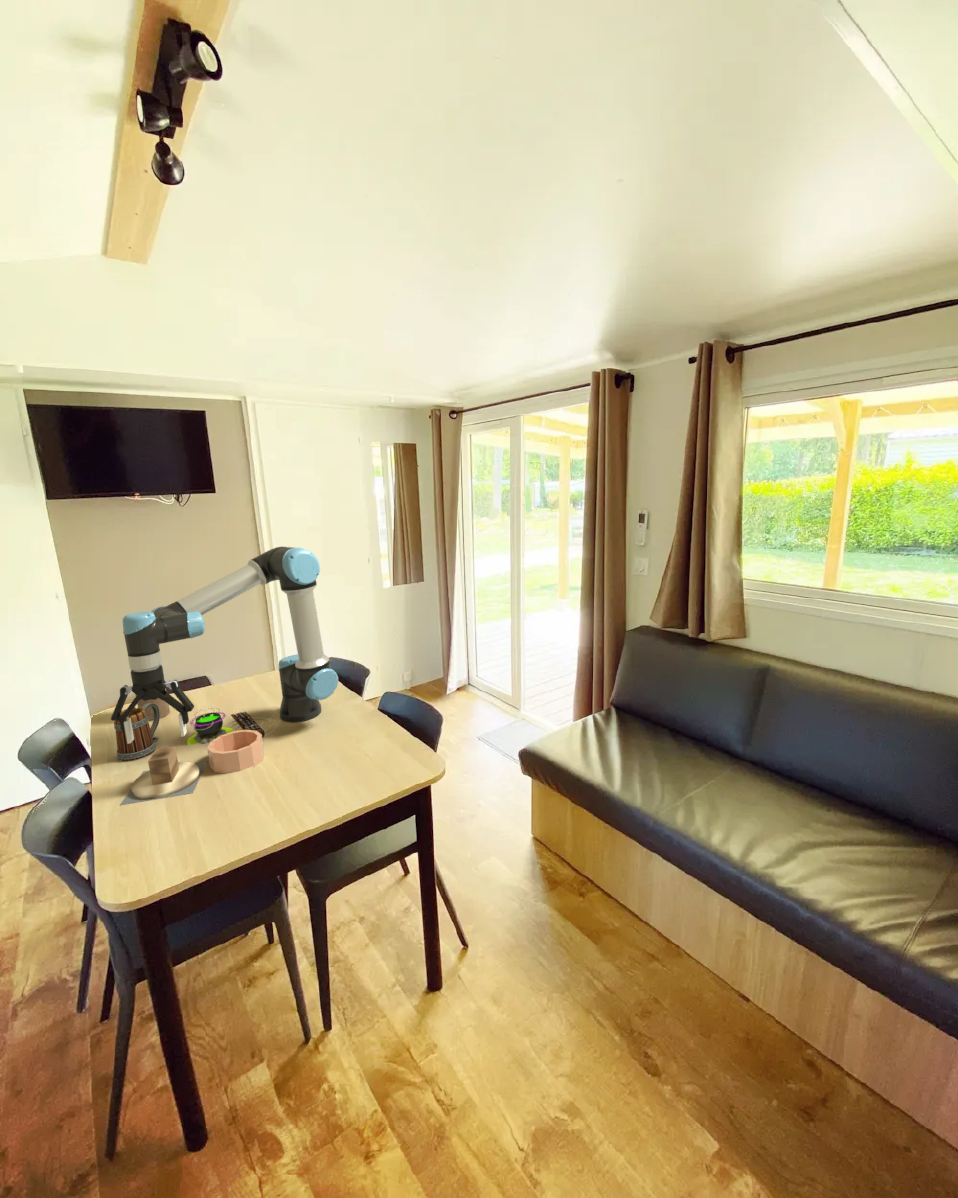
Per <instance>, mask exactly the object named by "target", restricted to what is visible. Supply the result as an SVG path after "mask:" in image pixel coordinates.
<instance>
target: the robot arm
mask: <svg viewBox="0 0 958 1198" xmlns="http://www.w3.org/2000/svg"><path fill="white" fill-rule="evenodd" d="M320 572H321V565H320V561H319V559H318V557H317V556H316V555H315V554H314V553H313V552H312V551H311V550H310V551H309V550H308V549H305V548H301V547H291V546H278V547H277V546H276V547H273V548H271V549H269V550H267V551H265V552H263V553H260V554H258V555H257V556H255V557H253V558H252V559H249V560H248V561H247V564H246V565H245V566H242V567H241V568H239V569H237V570H235V571H233V572H231V573H229V574H227V575H225V576H223V577H221V578H219V579H217V580H216V581H213V582H212V583H210V584H208V585H206V586H203V587H201V588H199V589H197V590H195V591H194V592H192V593H190V594H188V595H185V596H183V597H182V598H180V599H178V600H176V601H174V602H171V603H170V604H168V605H166V606H163V605H162V606H157V607H155V608H153V609H152V610H151V611H137V612H132V613H128V614H126V615H124V617H122V629H123V631H122V633H123V635H124V641H125V648H126V652H127V658H128V659H127V660H128V665H129V670H130V678H131V683H132V685H131V686H129V685H127V684H124V685H123V686H122V687H120V689H119V697H118V699H117V703H116V705H115V707H114V709H113V713H112V714H111V717H110V720H111V721H113V722H115V720H117V721H119V722H120V725H121V731H122V732H126V738H127V744H129V743H131V742H132V741H133V740H134V735H133V729H132V724H131V718H127V717H128V715H129V714H130V713H131V711H132V710H133V709H134V708H136V707H137V706H138V705H137V704H138V702H139V701H140V700H141V699H142V700H144V701H147V700H150V699H151V700H156V699H158V698H159V699H161V700H163V701H165V702H166V703H168V704H169V707H171V708H172V709H174V710H176V711H177V712H179V714H178V715H177V716H178V717H177V718H178V723H179V730H180V735H181V736H180V737H181V738H182V737H185V736H186V734H187V733H188V730H187V725H188V723H189V722H190V721H189V720H190V719H189V712H192V711H193V710H194V708H195V704H194V703H193V702H192V700H190V698H189V696H187V695H186V693H185V692H184V691H183V690H182V688H181V687H180V685H179V684H180V683H179V681H178V679H174V680H173V681H169V682H166V680H165V674H164V668H163V662H162V655H161V650H160V649H161V648H160V645H162V644H167V643H172V642H176V641H181V640H187V639H193V638H197V637H199V636H200V637H201V636H202V635H203V634H204V633H205V630H206V626H205V620H204V617H203V615H205V614H207V613H209V612H211V611H212V610H215V609H216V608H218V607H220V606H221V605H224V604H225V603H227V602H229V601H231V600H234V599H235V598H237V597H239V596H240V595H242V594H244V593H246V592H247V591H250V590H252V589H253V588H255V587H257V586H259V585H262V586H265V585H267V584H269V583H271V582H274V581H279V585H280V589H281V592H283V593H285V594H286V597H287V604H288V607H289V614H290V619H291V623H292V630H293V635H294V640H295V645H296V652H297V653H296V654H292V655H289V656H288V655H287V656H285V657H283V658H281V659H280V660H279V661H278V672H279V680H280V687H281V694H282V696H281V697H282V698H281V703H280V708H279V711H278V712H279V718H280V720H281V721H283V722H287V723H299V722H304V721H308V720H312V719H314V718H316V717H317V716H320V714H321V713H322V704H321V702H320V701H323V700H326V699H328V698H329V697H331V696H332V695H333V694H334V693H335V690H336V689H337V687H338V685H339V676H338V674H337V672H336V671H335V670H334V669H332V668H331V663H330V661H331V660H330V657H329V656H327V655H325V653H324V649H323V648H324V647H323V641H322V636H321V630H320V624H319V618H318V612H317V607H316V606H317V605H316V599H315V595H314V589H315V588H316V587H317V586H318V585H317V578H318V576H319V575H320ZM161 664H162V666H161ZM131 670H132V671H131ZM167 688H168V689H169V690H171V691H172V692H173V694H174V696H175V697H176V698H177V699H178V700H177V699H176V698H175V697H173V696H172V695H171V694H170V693H169V692H168V691H167ZM165 689H166V690H165ZM131 692H132V693H133V694H134V695H135V697H134V699H133V700H132V702H131V703H130V704H129V706H127V708H126V711H125V712H124V713H123V715H120V713H121V711H123V709H124V708H123V707H124V706H125V703H126V700H127V698H128V695H129V694H130V693H131ZM136 695H137V696H136Z"/></svg>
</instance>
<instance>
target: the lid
mask: <svg viewBox="0 0 958 1198" xmlns="http://www.w3.org/2000/svg"><path fill="white" fill-rule="evenodd" d="M177 755H178V754H177V750H176V746H171V747H165V748H160V749H159V748H158V749H157V748H156V750H155V751H154V752H153V753H152V754H151V757H150V758H149V759H148V760H147V763H148V769H149V770H150V771H149V770H147V771H148V772H146V773H144V774H142V773H141V774H142V775H141V774H140V775H141V776H140V775H139V776H138V777H137V778H136V779H135V780H134V781H132V784H131V785H130V786H131V787H130V789H131V788H132V793H133V795H134V796H135V797H137V798H141V799H154V798H160V797H165V796H168V795H172V794H174V793H177V792H179V791H181V790H183V789H185V788H187V787H189V786H190V785H192V784H193V783H194V782H195V781H196V780H197V779H198V777H199V775H200V771H199V767H198V765H196V764H194V762H192V761H191V762H189V761H179V759H178V756H177Z"/></svg>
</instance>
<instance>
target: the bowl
mask: <svg viewBox="0 0 958 1198" xmlns="http://www.w3.org/2000/svg"><path fill="white" fill-rule="evenodd" d="M207 754H208V763H209V767H210V769H211V770H212V771H213V772H215V773H220V774H229V773H230V774H231V773H236V772H241V771H244V770H246V769H248V768H251V767H253V768H255V767H257V765H259V764H260V763H262V762H263V761H264V757H265V748H264V743H263V734H262V733H261V732H259V731H257V730H252V729H243V730H242V729H241V730H234V731H233V732H230V733H227V734H224V735H221V736H219V737H217V738H216V739H214V740H213V741H211V742H209V744H208V746H207Z"/></svg>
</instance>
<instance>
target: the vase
mask: <svg viewBox="0 0 958 1198" xmlns="http://www.w3.org/2000/svg"><path fill="white" fill-rule="evenodd" d="M161 666H162V667H163V663H162V664H161ZM131 671H132V670H131V669H130V672H131ZM165 690H166V691H167V688H166V689H165ZM136 696H137V695H136V694H135V697H136ZM147 703H154V704H156V705H157V706H158V708H159V712H160V719H161V718H164V717H166V716H168V715H169V714H170V712H171V710H170V705H169V704H168V703H166V702H165V701H163V700H161V699H159V698H158V699H156V700H151V699H150V700H147V701H144V700H142V699H141V700H140V701H139V702H138V704H137V705H136V706H137V708H138V707H141V708H142V707H143V706H144V705H145V704H147ZM147 716H148V717H149V720H148V722H149V721H153V720H154V712H153V709H152V707H149V708H148V710H147Z"/></svg>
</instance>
